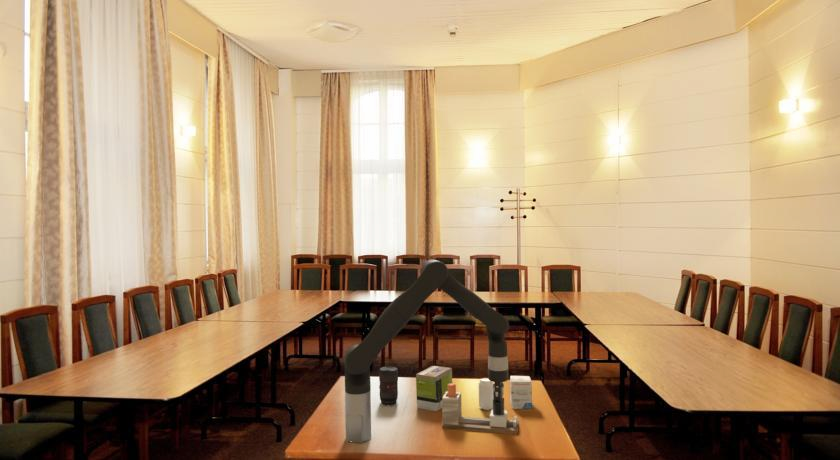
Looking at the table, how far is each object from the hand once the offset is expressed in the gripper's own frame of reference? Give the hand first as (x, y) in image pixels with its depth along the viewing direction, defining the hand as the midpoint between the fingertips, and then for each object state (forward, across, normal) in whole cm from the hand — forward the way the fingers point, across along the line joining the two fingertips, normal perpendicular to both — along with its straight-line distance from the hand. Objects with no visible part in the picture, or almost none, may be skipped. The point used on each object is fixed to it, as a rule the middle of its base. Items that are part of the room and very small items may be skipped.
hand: (498, 412), depth 197 cm
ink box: (+6, +26, -7) cm, 28 cm away
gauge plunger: (0, 0, +18) cm, 18 cm away
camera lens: (+6, +18, +49) cm, 52 cm away
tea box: (+6, +20, +29) cm, 36 cm away
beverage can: (+6, +20, +7) cm, 22 cm away
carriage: (+4, 0, 0) cm, 4 cm away
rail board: (+6, 0, +7) cm, 9 cm away
